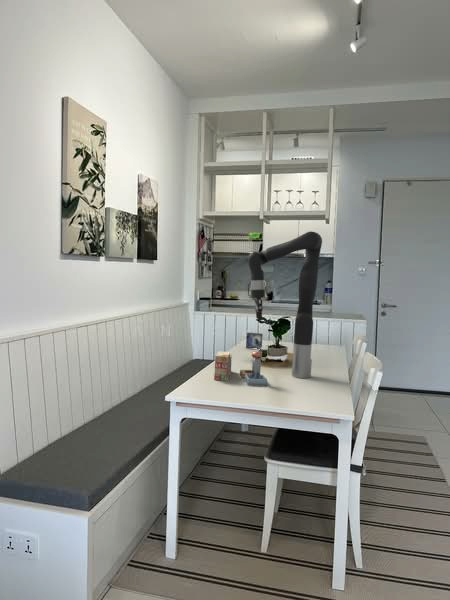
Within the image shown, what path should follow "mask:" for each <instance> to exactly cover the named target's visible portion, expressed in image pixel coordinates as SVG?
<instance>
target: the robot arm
mask: <svg viewBox="0 0 450 600" xmlns="http://www.w3.org/2000/svg"><path fill="white" fill-rule="evenodd" d="M322 243H323V239H322V236H321V234H319V233H318V232H315V231H311V230H310V231H307V232H305V233H303V234H302V235H298V237H295V238H293V239H292V240H288V241H285V242H283V243H279V244H276V245H273V246H270V247H268V248H266V249H265V250H262V251H253V252H252V251H251V252H250V254H249V255H248V259H247V260H248V261H247V262H248V268H249V270H250V294H251V295H250V296H251V297H250V298H252V299H255V300H254V310H255V312H256V313H255V316H256V317H255V318H256V319H257V320H262V319H263V310H264V309H263V304H264V303H263V298H266V286H265V276H264V275H265V274H264V271H263V268H262V265H265V264H266V263H269V262H272V261H275V260H279V259H280V258H281V259H282V258H284V257H286V256H288V255H290V254H292V253H295V252H298V251H304V250H305V256H304V260H303V261H304V262H303V264H302V267H301V269H300V272H299V278H298V279H299V280H298V306H297V311H296V312H297V314H296V316H295V320H294V334H293V335H294V336H293V349H292V351H293V352H292V365H291V376H292V377H294V378H297V379H298V378H299V379H308V378H309V379H310V378H311V377H312V376H311V374H312V363H313V361H312V357H311V356H312V344H313V332H314V319H313V305H314V300H315V296H316V292H317V287H318V278H319V277H318V275H319V263H320V262H319V259H320V255H321V250H322V245H323V244H322Z"/></svg>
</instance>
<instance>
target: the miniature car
mask: <svg viewBox="0 0 450 600" xmlns="http://www.w3.org/2000/svg"><path fill="white" fill-rule="evenodd" d="M268 347H269V346H267V347H266V346H265V347H263V346H262V348H260V350H257V352H262V357H266V356H267V350H268Z"/></svg>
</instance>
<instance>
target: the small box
mask: <svg viewBox="0 0 450 600" xmlns="http://www.w3.org/2000/svg"><path fill="white" fill-rule="evenodd" d="M245 339H246V341H245V342H246V343H245V349H246V348H257V349H260V348H263V333H259V332H247V333H246V338H245Z"/></svg>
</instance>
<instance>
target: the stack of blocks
mask: <svg viewBox="0 0 450 600" xmlns="http://www.w3.org/2000/svg"><path fill="white" fill-rule="evenodd" d="M232 358H233V357H232V354H231V351H222V350H221V351H220V350H218V351H217V353H216V354H215V360H214V361H215V362H214V375H213V380H214V381H220V382H221V381H223V382H227V381H228V379H229V377H230V374H231V372H232Z"/></svg>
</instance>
